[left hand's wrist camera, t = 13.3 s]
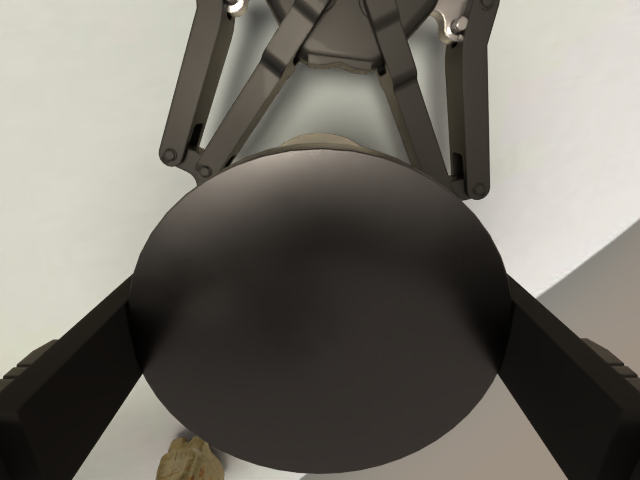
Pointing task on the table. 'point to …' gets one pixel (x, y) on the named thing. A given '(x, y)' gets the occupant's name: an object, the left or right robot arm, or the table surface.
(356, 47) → the right robot arm
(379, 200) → the lid
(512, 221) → the table surface
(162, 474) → the sculpture
